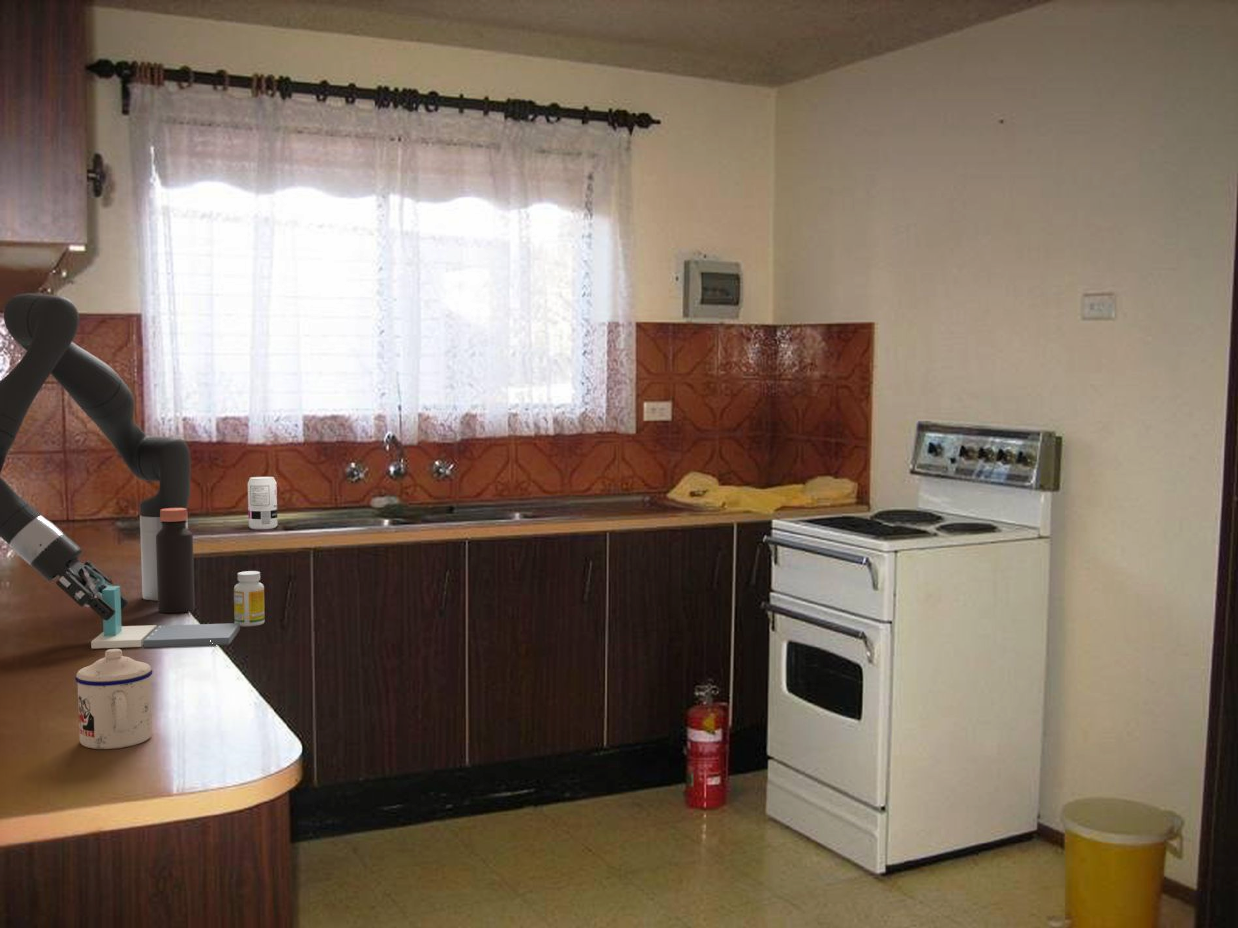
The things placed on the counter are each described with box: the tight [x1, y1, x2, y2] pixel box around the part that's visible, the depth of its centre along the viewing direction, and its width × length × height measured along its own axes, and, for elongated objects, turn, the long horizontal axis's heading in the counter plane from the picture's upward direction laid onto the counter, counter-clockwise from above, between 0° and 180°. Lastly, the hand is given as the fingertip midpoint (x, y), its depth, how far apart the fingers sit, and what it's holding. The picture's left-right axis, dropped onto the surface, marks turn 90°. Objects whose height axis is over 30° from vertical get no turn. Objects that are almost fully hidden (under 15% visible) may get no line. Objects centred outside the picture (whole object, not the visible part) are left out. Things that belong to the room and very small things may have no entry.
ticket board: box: [143, 622, 241, 648], centre depth 215 cm, size 12×14×1 cm
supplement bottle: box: [233, 570, 265, 627], centre depth 226 cm, size 5×5×10 cm
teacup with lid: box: [74, 648, 153, 750], centre depth 155 cm, size 12×9×12 cm
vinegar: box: [156, 508, 196, 615], centre depth 238 cm, size 7×7×20 cm
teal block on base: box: [90, 585, 158, 649], centre depth 213 cm, size 12×8×9 cm, turn 9°
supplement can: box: [247, 476, 279, 531], centre depth 362 cm, size 8×8×15 cm
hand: (118, 611), depth 213 cm, fingers open, 8 cm apart
